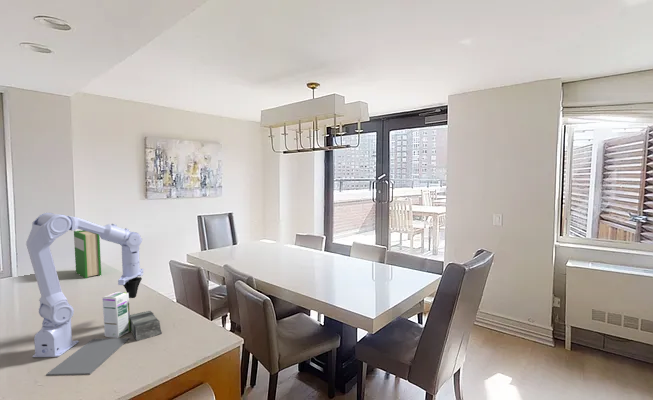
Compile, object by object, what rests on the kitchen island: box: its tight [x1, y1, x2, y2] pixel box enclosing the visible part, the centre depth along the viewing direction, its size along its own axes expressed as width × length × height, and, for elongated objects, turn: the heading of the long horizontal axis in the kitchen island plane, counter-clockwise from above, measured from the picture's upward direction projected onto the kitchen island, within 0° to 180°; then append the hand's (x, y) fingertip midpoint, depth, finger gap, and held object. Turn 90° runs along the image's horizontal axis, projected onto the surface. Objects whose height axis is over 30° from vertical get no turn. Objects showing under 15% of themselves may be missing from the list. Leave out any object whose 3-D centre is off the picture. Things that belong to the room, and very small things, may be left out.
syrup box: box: [101, 291, 131, 338], centre depth 119 cm, size 6×6×14 cm
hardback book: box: [73, 230, 102, 279], centre depth 190 cm, size 18×7×24 cm, turn 50°
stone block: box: [130, 310, 163, 342], centre depth 122 cm, size 9×14×5 cm, turn 40°
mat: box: [45, 337, 130, 376], centre depth 105 cm, size 20×12×1 cm, turn 3°
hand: (132, 297), depth 129 cm, fingers closed
